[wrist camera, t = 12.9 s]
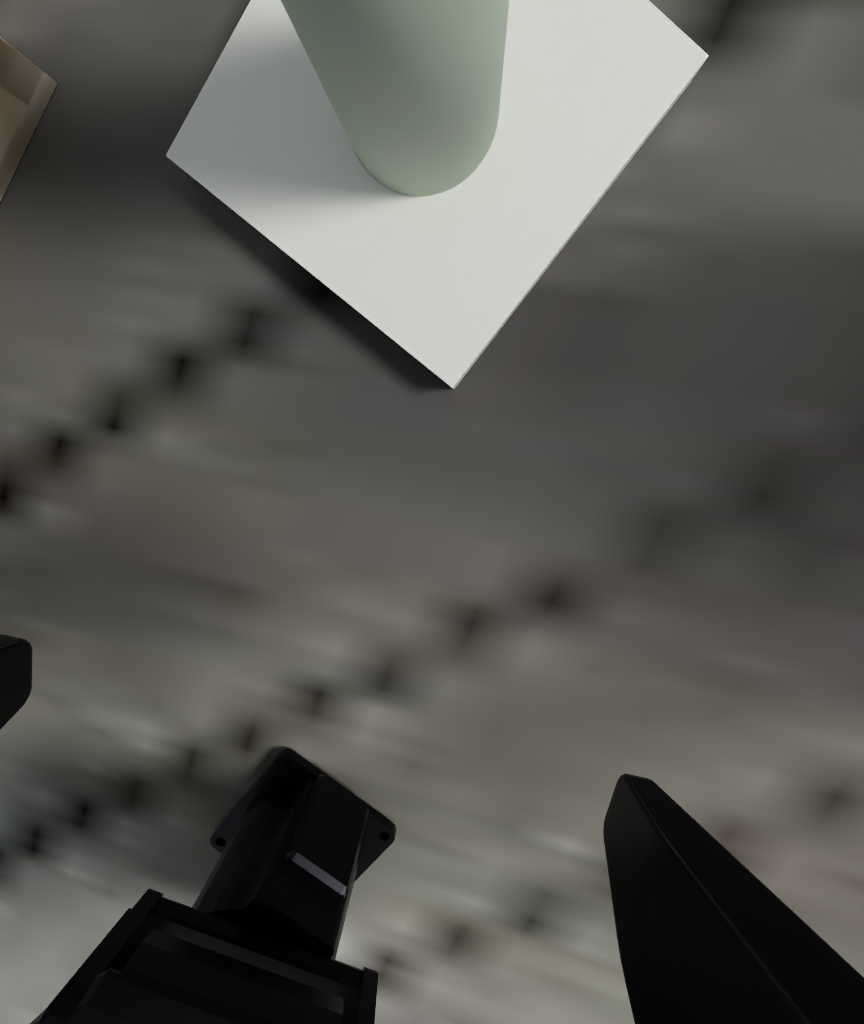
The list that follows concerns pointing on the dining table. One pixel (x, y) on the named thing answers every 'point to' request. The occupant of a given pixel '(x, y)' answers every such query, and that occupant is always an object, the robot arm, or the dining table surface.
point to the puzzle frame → (19, 107)
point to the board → (458, 211)
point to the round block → (410, 82)
